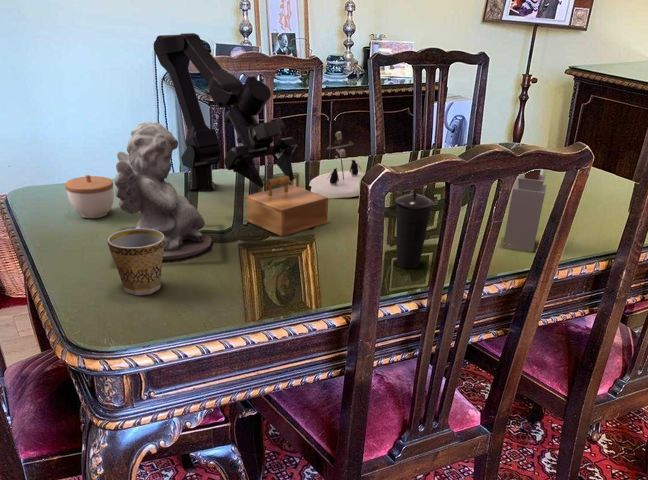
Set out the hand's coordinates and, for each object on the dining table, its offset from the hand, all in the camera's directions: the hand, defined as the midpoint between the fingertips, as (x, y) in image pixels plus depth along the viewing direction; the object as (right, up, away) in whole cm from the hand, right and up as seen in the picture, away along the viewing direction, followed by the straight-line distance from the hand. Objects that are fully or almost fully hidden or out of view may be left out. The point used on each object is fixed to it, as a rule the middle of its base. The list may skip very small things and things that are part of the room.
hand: (277, 183), depth 152 cm
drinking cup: (+29, -22, -17) cm, 40 cm away
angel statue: (-22, -17, -13) cm, 30 cm away
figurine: (+16, +6, +28) cm, 32 cm away
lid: (+2, -4, 0) cm, 5 cm away
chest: (+2, -9, +2) cm, 9 cm away
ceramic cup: (-23, -27, -30) cm, 47 cm away
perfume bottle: (+56, -16, -5) cm, 59 cm away
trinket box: (-45, -7, +2) cm, 45 cm away
